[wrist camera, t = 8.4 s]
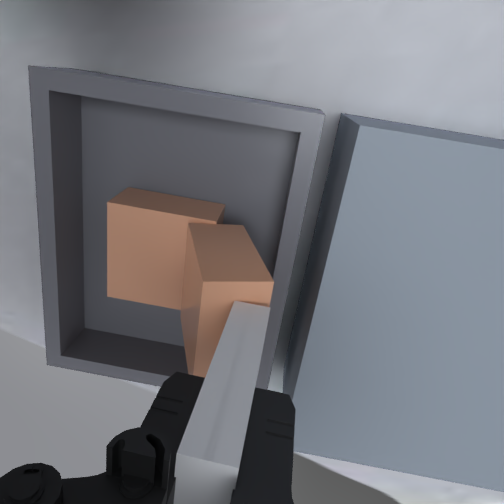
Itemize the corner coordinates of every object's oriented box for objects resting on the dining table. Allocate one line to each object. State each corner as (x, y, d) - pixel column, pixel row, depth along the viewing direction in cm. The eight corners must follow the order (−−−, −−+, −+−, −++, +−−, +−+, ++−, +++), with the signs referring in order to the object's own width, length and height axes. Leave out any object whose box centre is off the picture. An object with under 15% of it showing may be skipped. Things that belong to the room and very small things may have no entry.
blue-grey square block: (283, 367, 25) (280, 448, 19) (341, 113, 19) (359, 125, 13) (513, 410, 24) (576, 506, 19) (644, 163, 19) (793, 197, 13)
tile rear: (205, 314, 20) (214, 289, 22) (216, 221, 18) (225, 204, 20) (107, 296, 20) (126, 273, 23) (107, 202, 18) (128, 187, 20)
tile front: (229, 315, 21) (180, 316, 20) (243, 225, 18) (188, 222, 18) (253, 388, 16) (191, 393, 16) (274, 281, 14) (202, 281, 13)
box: (78, 329, 25) (46, 364, 22) (72, 68, 19) (28, 65, 16) (267, 364, 25) (263, 406, 22) (320, 109, 19) (325, 114, 16)
